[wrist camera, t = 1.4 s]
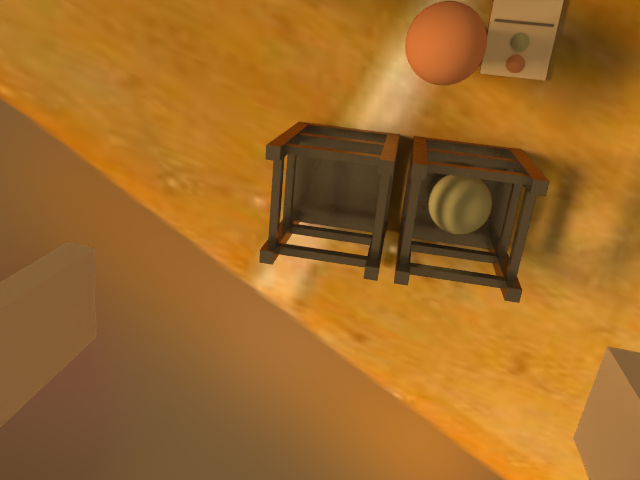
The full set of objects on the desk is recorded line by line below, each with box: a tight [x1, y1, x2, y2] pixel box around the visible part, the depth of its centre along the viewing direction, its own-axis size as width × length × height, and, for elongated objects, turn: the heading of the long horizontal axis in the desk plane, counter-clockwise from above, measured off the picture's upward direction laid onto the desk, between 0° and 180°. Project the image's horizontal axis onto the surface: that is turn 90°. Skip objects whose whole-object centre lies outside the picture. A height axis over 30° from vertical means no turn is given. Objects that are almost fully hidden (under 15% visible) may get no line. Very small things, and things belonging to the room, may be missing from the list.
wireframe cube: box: [260, 122, 400, 281], centre depth 44 cm, size 9×9×11 cm
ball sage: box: [428, 175, 492, 234], centre depth 45 cm, size 5×5×5 cm
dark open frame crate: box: [394, 136, 549, 303], centre depth 43 cm, size 9×9×11 cm
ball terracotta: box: [405, 1, 487, 85], centre depth 35 cm, size 5×5×5 cm
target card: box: [480, 0, 564, 80], centre depth 42 cm, size 8×5×1 cm, turn 175°
